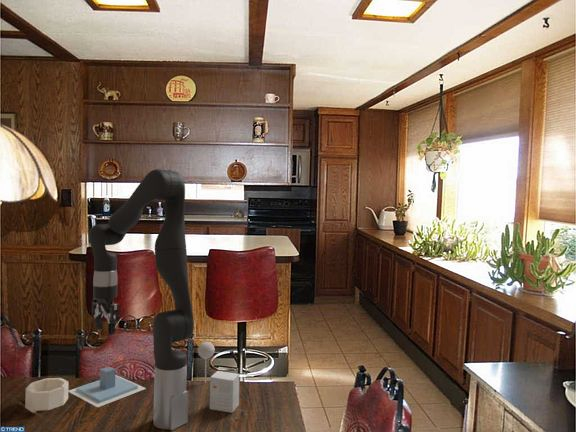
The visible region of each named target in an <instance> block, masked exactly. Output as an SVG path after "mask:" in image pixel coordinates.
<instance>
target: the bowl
mask: <svg viewBox="0 0 576 432" xmlns="http://www.w3.org/2000/svg"><path fill="white" fill-rule="evenodd" d="M68 391H69V381H68V380H66V379H64V378H62V377H52V378H51V377H48V378H47V377H46V378H43V379H40V380H36V381H32V382H31V383H30V384H29V385H28V386H27V387H26V388H25V398H24V399H25V401H24V402H25V405H24V407H25V409H26V410H28V411H29V412H31V413H32V414H33V413H37V411H39V412H40V411H51V410H53V409H56V408H58V407H61V406H65V404H66V402H67V401H68V400H69V392H68Z"/></svg>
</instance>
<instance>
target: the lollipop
mask: <svg viewBox="0 0 576 432" xmlns="http://www.w3.org/2000/svg"><path fill="white" fill-rule="evenodd" d="M215 350H216V349H215V346H214V345H213V343H212V342H209V341H203V342H201V343H200V344H199V346H198V347H197V353H198V356H199V357H200V358H202V359H204V384H206V383H207V361H208V360H207V359H210V358H212V356H214V354H215V352H216V351H215Z"/></svg>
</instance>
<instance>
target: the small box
mask: <svg viewBox="0 0 576 432" xmlns="http://www.w3.org/2000/svg"><path fill="white" fill-rule="evenodd" d="M239 405H240V374H239V373H236V372H229V371H228V372H227V371H221V370H216V371H215V372H214V373H213V374H212V375H211V376H210V378H209V410H212V411H219V412H225V413H231V414H233V413H234V411H235V410H236V409H237V408H238V407H239Z"/></svg>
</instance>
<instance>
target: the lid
mask: <svg viewBox="0 0 576 432" xmlns="http://www.w3.org/2000/svg"><path fill="white" fill-rule="evenodd" d="M115 375H116V369H115V368H114V367H111V366H107V367H104V368H100V370H99V380H96V381H93V382H90V383H86V384H84V385H81V386H77V387H75V388H76V391H78V392H80V393H82V394H84V395H85V396H87V397H89V398H91V399H93V400H95V401H97V402H99V403H102V402H104V401H107V400H109V399H112V398H115V397H117V396H120V395H123V394H125V393H128V392H131V391H133V390H136V389H138V386H137V385H135V384H136V383H135V384H133V383H134V382H133V383H130V382H128V381H126V380H127V379H126V380H124V379H125V378H124V379H121V378H119V377H120V376H119V377H117V376H118V375H117V376H115Z"/></svg>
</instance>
